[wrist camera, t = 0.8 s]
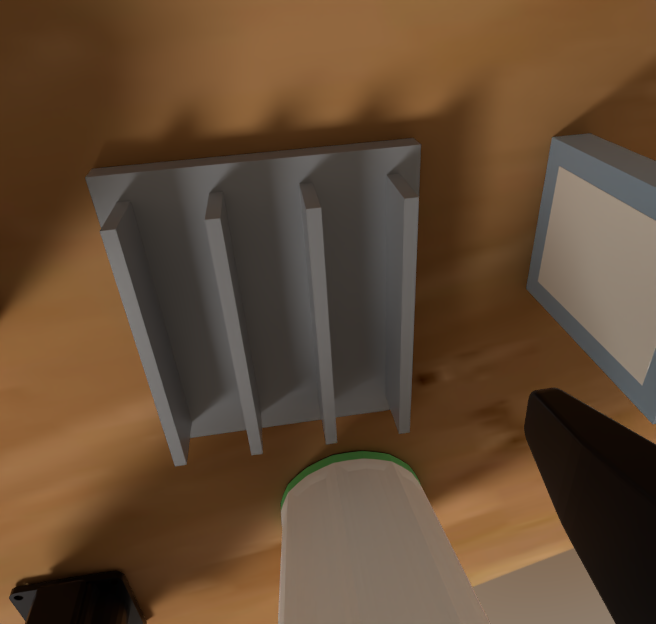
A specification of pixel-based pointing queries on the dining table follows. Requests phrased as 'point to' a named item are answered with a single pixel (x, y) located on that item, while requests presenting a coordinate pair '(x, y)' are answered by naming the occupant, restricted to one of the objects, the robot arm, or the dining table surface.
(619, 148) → the light blue upright panel
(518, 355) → the dining table surface
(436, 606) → the cup
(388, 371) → the rack
